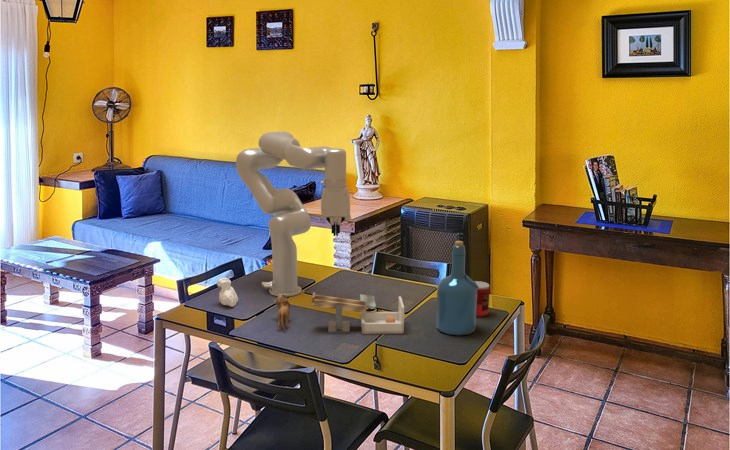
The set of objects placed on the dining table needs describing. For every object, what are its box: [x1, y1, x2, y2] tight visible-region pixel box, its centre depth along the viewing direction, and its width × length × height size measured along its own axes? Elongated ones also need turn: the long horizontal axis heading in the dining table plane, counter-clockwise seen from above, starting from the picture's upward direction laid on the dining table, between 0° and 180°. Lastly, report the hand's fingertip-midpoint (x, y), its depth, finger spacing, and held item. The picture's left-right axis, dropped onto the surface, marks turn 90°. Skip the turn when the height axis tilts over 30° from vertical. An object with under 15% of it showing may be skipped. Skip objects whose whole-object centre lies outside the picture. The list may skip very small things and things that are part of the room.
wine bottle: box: [435, 240, 479, 336], centre depth 196 cm, size 14×13×30 cm
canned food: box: [473, 280, 490, 318], centre depth 212 cm, size 8×8×11 cm
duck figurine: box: [216, 276, 239, 307], centre depth 221 cm, size 12×8×11 cm
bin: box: [360, 296, 405, 335], centre depth 199 cm, size 14×11×9 cm
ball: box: [386, 316, 395, 323], centre depth 199 cm, size 3×3×3 cm
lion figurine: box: [273, 294, 291, 332], centre depth 201 cm, size 15×5×9 cm, turn 14°
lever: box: [310, 291, 377, 313], centre depth 203 cm, size 22×16×3 cm
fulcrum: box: [327, 304, 351, 334], centre depth 198 cm, size 7×9×9 cm
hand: (335, 235), depth 213 cm, fingers closed
